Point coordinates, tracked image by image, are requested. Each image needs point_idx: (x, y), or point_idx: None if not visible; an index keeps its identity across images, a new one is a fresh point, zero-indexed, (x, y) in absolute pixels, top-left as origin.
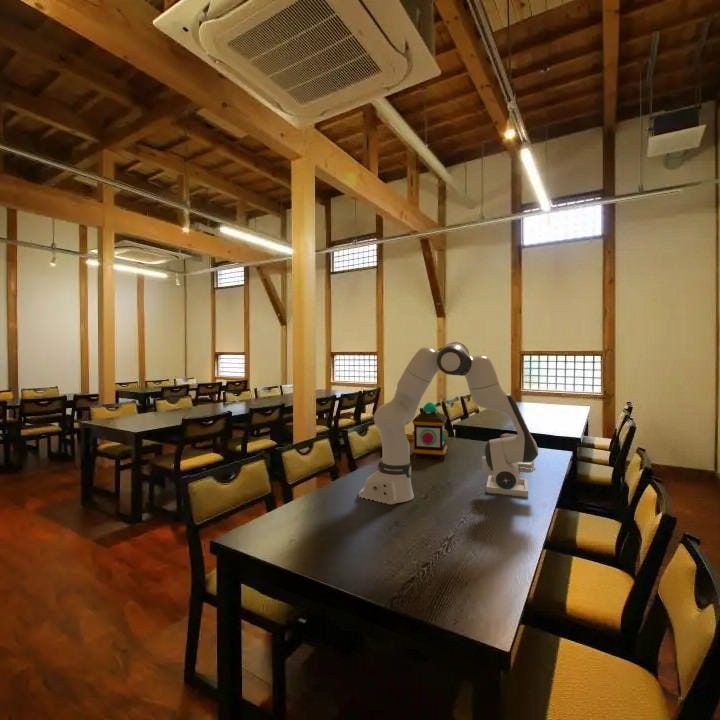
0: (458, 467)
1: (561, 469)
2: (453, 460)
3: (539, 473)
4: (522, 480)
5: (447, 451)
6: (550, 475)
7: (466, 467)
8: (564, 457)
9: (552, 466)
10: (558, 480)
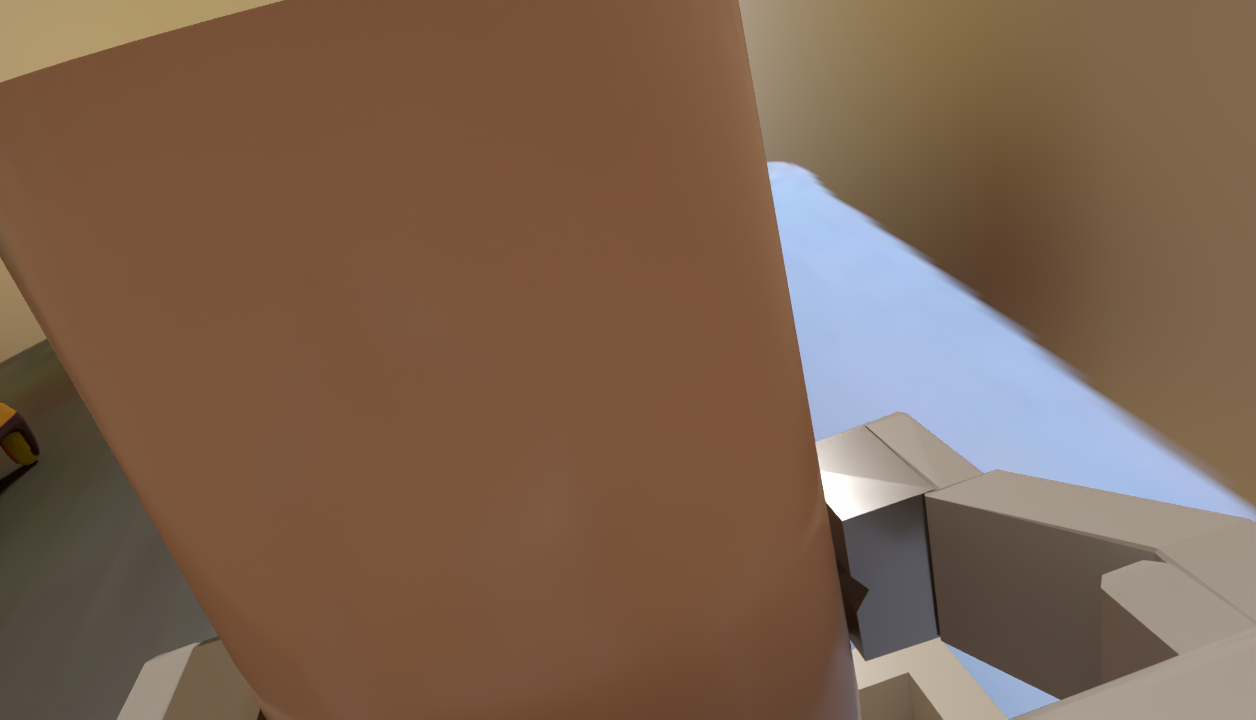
0: (3, 672)
1: (920, 265)
2: (32, 543)
3: (834, 376)
4: (881, 697)
5: (32, 445)
6: (940, 359)
7: (110, 621)
8: (814, 187)
9: (835, 266)
10: (1095, 396)
